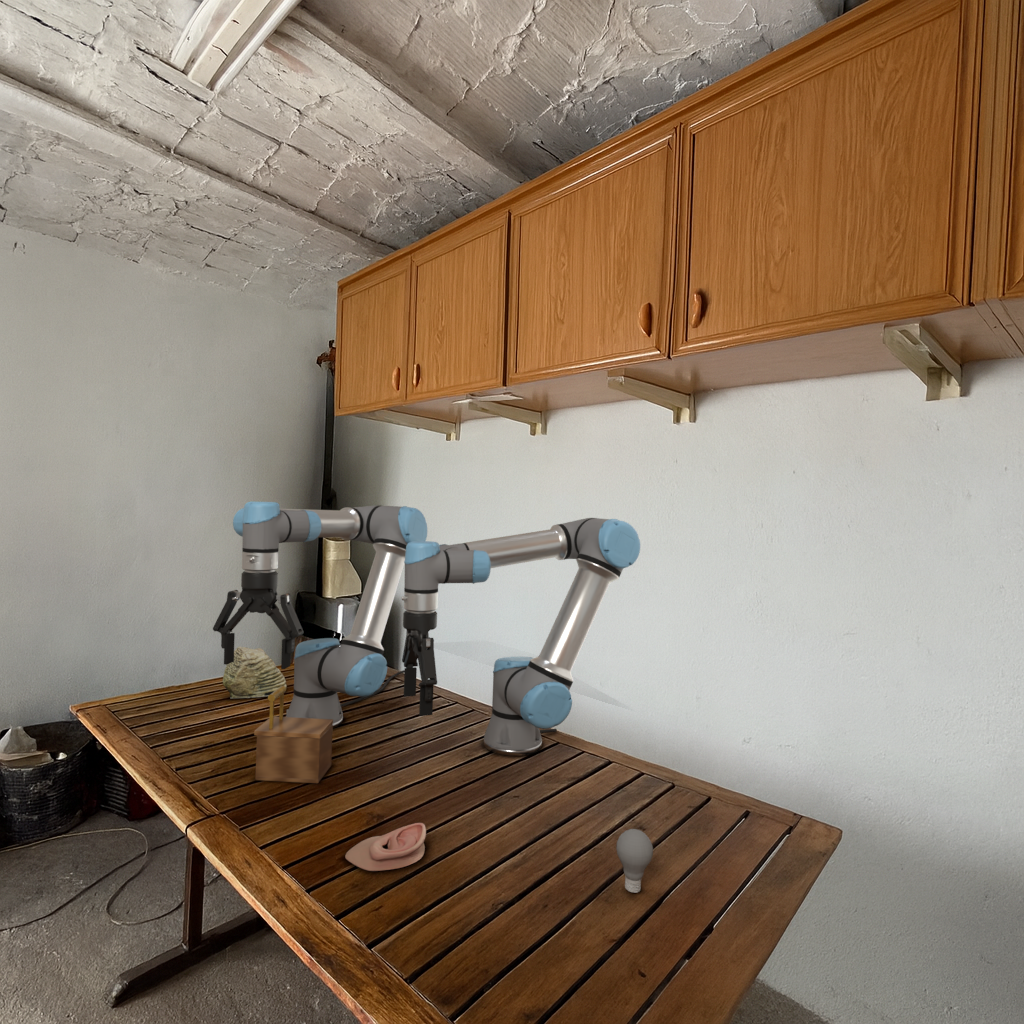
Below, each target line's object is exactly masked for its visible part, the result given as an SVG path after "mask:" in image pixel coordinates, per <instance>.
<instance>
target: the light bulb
mask: <svg viewBox="0 0 1024 1024" xmlns="http://www.w3.org/2000/svg"><path fill="white" fill-rule="evenodd" d="M615 849H616V854H617V857H618V859H619V861H620V863H621V865H622V867H623V873H624V874H623V875H624V876H625V878H624V888H625V890H627V891H628V892H630V893H634V894H635V893H639V892H640V891H641V889H642V887H641V886H642V879H643V877H644V875H645V871H646V868H647V867H648V866H649V864H650V863H651V861H652V859H653V855H654V847H653V843H652V841H651V838H649V836H648V835H647V834H646V833H645V832H643V831H642V830H641V829H636V828H629V829H627V830H625V831H623V832H622V833H621V834H620V835H619V837H618V839H617V841H616V847H615Z"/></svg>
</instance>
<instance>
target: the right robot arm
mask: <svg viewBox="0 0 1024 1024" xmlns="http://www.w3.org/2000/svg"><path fill="white" fill-rule="evenodd" d="M640 552H641V540H640V538H639V534H638V532H637V530H636V528H634V526H632V524H630V523H629V522H627V521H625V520H620V519H617V518H599V517H585V518H580V519H577V520H572V521H567V522H562V523H557V524H553V525H552V526H551V527H550V529H545V530H538V531H531V532H525V533H518V534H511V535H506V536H499V537H493V538H486V539H479V540H473V541H467V542H462V543H454V544H446V543H444V544H443V543H442V544H440V543H438V542H437V541H430V540H426V541H412V542H409V543H408V544H407V546H406V553H405V561H404V587H403V588H404V589H403V596H401V601H403V609H404V611H403V613H402V627H403V629H404V630H406V633H405V634H406V635H405V640H404V647H403V652H402V658H401V662H402V663H403V667H404V669H403V670H404V673H403V675H404V676H403V680H404V681H403V697H404V698H407V697H416V696H417V673H418V672H417V671H418V669H417V667H418V668H419V675H420V680H421V681H420V682H419V684H418V687H419V708H418V709H419V710H418V716H419V717H425V716H426V717H427V716H432V715H433V713H434V712H433V711H434V709H433V707H434V686H436V685H437V684H438V677H437V668H436V667H437V666H436V658H435V645H434V644H435V639H434V637H430V633H429V632H430V631H432V630H435V629H436V628H437V627H438V612H437V610H438V608H439V584H472V585H473V584H474V585H475V584H478V583H485V582H487V581H488V580H489V578H490V575H491V569H494V568H501V567H506V566H514V565H519V564H525V563H530V562H537V561H541V560H547V559H553V558H555V559H556V560H558V561H565V560H575V561H576V564H577V567H578V569H577V572H576V574H575V576H574V578H573V579H572V580H573V581H572V582H571V585H570V587H569V589H568V591H567V594H566V596H565V599H564V600H563V602H562V604H561V607H560V609H559V611H558V613H557V616H556V618H555V620H554V622H553V624H552V626H551V629H550V631H549V632H548V633H549V634H548V635H547V637H546V639H545V642H544V644H543V646H542V649H541V651H540V653H539V655H537V656H536V657H531V656H504V657H499V658H498V659H496V660H495V662H494V664H493V671H492V673H493V674H492V675H493V676H492V677H493V678H492V679H493V680H492V700H491V701H492V702H491V705H492V706H491V717H490V719H489V722H488V724H487V727H486V730H485V732H484V735H483V746H484V748H485V749H487V750H488V751H490V752H492V753H494V754H497V755H502V756H506V757H507V756H508V757H524V756H529V755H533V754H536V753H537V752H539V751H540V750H541V749H542V747H543V739H542V735H543V734H552V733H557V732H558V728H554V727H558V726H559V725H561V724H562V723H563V722H564V721H565V720H566V719H567V718H568V716H569V715H570V712H571V710H572V707H573V699H572V693H571V691H570V690H571V687H572V685H573V683H574V677H573V675H572V670H573V667H574V666H575V663H576V660H577V658H578V656H579V654H580V652H581V649H582V647H583V645H584V643H585V640H586V638H587V636H588V633H589V631H590V629H591V627H592V625H593V622H594V620H595V619H596V615H597V613H598V611H599V609H600V607H601V605H602V602H603V600H604V597H605V595H606V593H607V591H608V589H609V587H610V584H611V583H613V582H615V581H618V580H619V579H620V577H621V575H622V572H623V571H624V569H626V568H628V567H631V566H633V565H634V564H635V563H636V561H637V559H638V558H639V556H640Z"/></svg>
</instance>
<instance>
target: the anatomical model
mask: <svg viewBox="0 0 1024 1024" xmlns="http://www.w3.org/2000/svg"><path fill="white" fill-rule="evenodd" d="M426 837H427V827H426V824H425V823H423V822H415V823H412V824H408V825H404V826H402V827H399V828H396V829H394V830H392V831H390V832H388V833H384V834H382V835H375V836H372V837H367V838H365V839H364V840H361V841H360V842H358V843H357V844H356V845H353V847H351V848H350V849H349V850H348V851H347V852H346V853H345V856H344V857H345V860H347V862H349V863H350V864H352V865H354V866H356V867H357V868H360V869H362V870H364V871H367V872H378V871H380V872H381V871H389V870H396V869H400V868H404V867H407V866H410V865H412V864H415V863H417V862H418V861H420V860H421V859H422V858H423V857H424V854H425V851H426V849H425V848H426V846H425V843H424V842H425V840H426Z"/></svg>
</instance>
